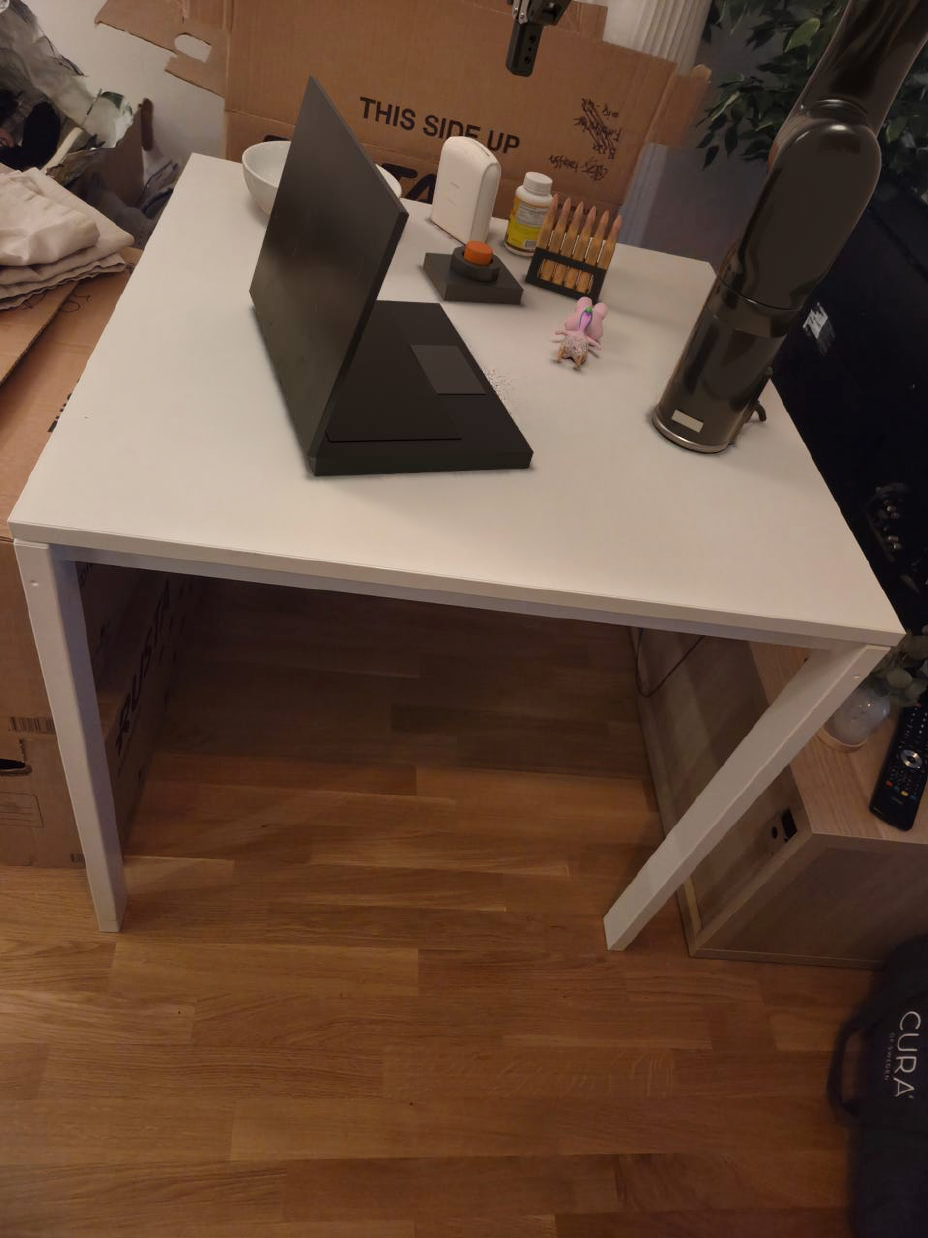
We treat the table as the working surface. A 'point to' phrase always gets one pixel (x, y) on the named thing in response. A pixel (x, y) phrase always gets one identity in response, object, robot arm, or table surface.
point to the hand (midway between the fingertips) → (517, 72)
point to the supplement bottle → (528, 214)
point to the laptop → (417, 402)
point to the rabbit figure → (582, 330)
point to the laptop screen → (323, 260)
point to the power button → (478, 252)
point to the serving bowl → (278, 172)
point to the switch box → (471, 279)
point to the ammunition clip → (567, 256)
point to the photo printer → (465, 189)
